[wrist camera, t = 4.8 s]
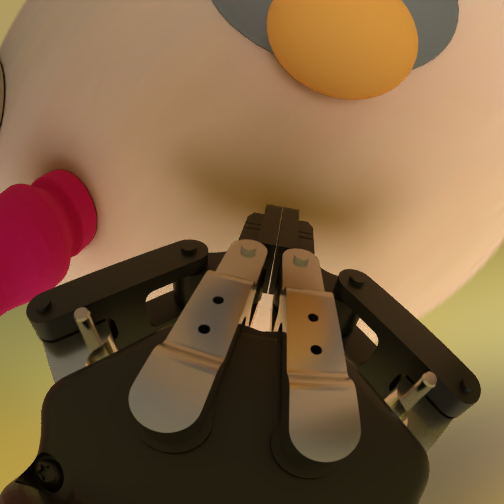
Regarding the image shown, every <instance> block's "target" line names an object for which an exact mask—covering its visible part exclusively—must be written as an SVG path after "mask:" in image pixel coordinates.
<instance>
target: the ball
mask: <svg viewBox="0 0 504 504" xmlns="http://www.w3.org/2000/svg"><path fill="white" fill-rule="evenodd" d="M267 34H268V39H269V43H270V45H271V48H272V50H273V52H274V54H275V56H276V57H277V59H278V61H279V62H280V63H281V65H282V66H283V67H284V68H285V70H286V71H287V72H288V73H289V74H290V75H292V76H293V77H294V78H295V79H296V80H298V81H299V82H300V83H302V84H303V85H305V86H307V87H309V88H310V89H312V90H314V91H316V92H319V93H321V94H324V95H327V96H331V97H335V98H340V99H349V100H357V99H367V98H372V97H376V96H379V95H382V94H384V93H386V92H388V91H390V90H392V89H394V88H395V87H396V86H398V85H399V84H400V83H401V82H402V81H403V80H404V79H405V78H406V77H407V76H408V74H409V73H410V71H411V70H412V68H413V65H414V63H415V61H416V58H417V53H418V34H417V29H416V26H415V22H414V20H413V18H412V16H411V14H410V12H409V10H408V8H407V7H406V6H405V4H404V3H403V1H402V0H273V1H272V3H271V5H270V7H269V11H268V16H267Z"/></svg>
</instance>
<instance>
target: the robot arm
mask: <svg viewBox="0 0 504 504" xmlns="http://www.w3.org/2000/svg"><path fill="white" fill-rule="evenodd" d="M3 98H4V81H3V72H2V68H1V65H0V122H1V117H2V109H3ZM281 212H282V207H279V206H273V205H268V204H267V207H266V210H265V214H261V213H255V212H254V213H253V214H251V215H249V216H248V218H247V220H246V223H245V225H244V228H243V230H242V233H241V235H240V238H239V240H238V241H235V242H233V243H232V244H231V245H230V247H229V249H228V250H227V251H226V252H218V253H208V247H207V246H206V245H205V244H204V243H202V242H200V241H197V240H182V241H178V242H176V243H173V244H170V245H167V246H164V247H161V248H158V249H155V250H153V251H150V252H147V253H144V254H141V255H139V256H136V257H133V258H130V259H128V260H125V261H122V262H119V263H117V264H114V265H111V266H109V267H106V268H103V269H101V270H98V271H95V272H93V273H90V274H88V275H85V276H82V277H80V278H77V279H75V280H72V281H70V282H67V283H64V284H62V285H59V286H57V287H54V288H52V289H49V290H47V291H45V292H42V293H40V294H38V295H36V296H35V297H34V298H33V299H32V300H31V301H30V302H29V304H28V306H27V310H26V313H27V317H28V318H29V321H30V322H31V324H32V326H33V327H34V329H35V331H36V334H37V336H38V338H39V340H40V341H41V343H42V344H43V346H44V348H45V352H46V356H47V359H48V363H49V366H50V370H51V372H52V376H53V379H54V382H55V384H54V385H53V386H52V387H51V388H50V390H49V391H48V393H47V394H46V397H45V399H44V402H43V405H42V410H41V439H40V445H39V450H38V454H37V457H36V459H35V460H34V462H33V463H32V464H31V465H30V467H29V468H28V469H27V470H26V471H25V472H24V473H22V474H21V475H20V476H19V477H18V478H16V479H15V480H14V481H12V482H11V483H10V484H9V485H7V486H6V487H5V488H4V490H3V491H2V493H1V495H0V504H418V503H419V501H420V498H421V496H422V494H423V492H424V490H425V487H426V485H427V481H428V478H429V460H428V456H427V454H426V453H427V452H428V451H429V449H430V448H431V447H432V446H433V444H434V443H435V442H436V441H437V439H438V438H439V437H440V436H441V434H442V433H443V432H444V430H445V429H446V428H447V426H448V425H449V424H450V422H452V421H453V420H454V419H456V418H457V417H458V416H460V415H461V414H462V413H463V412H465V411H466V410H467V409H468V408H470V407H471V406H472V405H473V404H474V403H476V402H477V401H478V399H479V397H480V393H481V388H480V384H479V381H478V379H477V378H476V376H475V375H474V374H473V373H472V372H471V371H470V370H469V369H468V368H467V367H466V366H465V365H464V364H463V363H462V362H461V361H460V360H459V359H458V358H457V357H456V356H455V355H454V354H453V353H452V352H451V351H450V350H449V349H448V348H447V347H446V346H445V345H444V344H443V343H442V342H441V341H440V340H439V339H438V338H437V337H436V336H435V335H434V334H433V333H431V332H430V331H429V330H428V329H427V328H426V327H425V326H424V325H423V324H422V323H421V322H420V321H419V320H418V319H416V318H415V317H414V316H413V315H412V314H411V313H410V312H409V311H408V310H406V309H405V308H404V307H403V306H402V305H401V304H400V303H399V302H398V301H396V300H395V299H394V298H393V297H392V296H391V295H390V294H388V293H387V292H386V291H385V290H384V289H383V288H381V287H380V286H379V285H378V284H377V283H376V282H374V281H373V280H372V279H371V278H370V277H369V276H367V275H366V274H364V273H363V272H360V271H358V270H353V269H346V270H343V271H341V272H340V273H339V276H336V275H334V274H331V273H329V272H327V271H325V270H323V269H322V268H321V267H320V263H319V260H318V258H317V257H316V256H315V255H314V240H313V228H312V226H311V225H310V224H309V223H308V222H305V221H300V220H299V210H296V209H290V208H285V207H284V208H283V213H282V219H281ZM280 219H281V224H280ZM279 225H280V230H279ZM278 231H279V235H278ZM277 237H278V241H277ZM276 244H277V246H276ZM275 249H276V252H275ZM274 254H275V258H274ZM273 260H274V264H273ZM272 265H273V270H272ZM271 270H272V276H271V282H270V288H269V294H273V295H274V296H273V301H272V306H271V314H270V332H262V331H258V330H256V329H253V328H251V326H252V323H253V320H254V317H255V314H256V311H257V308H258V303H259V301H260V299H261V296H262V293H267V291H268V285H269V280H270V275H271ZM171 283H173V289H174V290H173V291H170V292H168V293H166V294H164V295H161V296H159V297H157V298H154V299H152V300H150V301H147V302H146V298H147V296H148V295H149V294H150V293H151V292H152V291H154V290H157V289H159V288H161V287H164V286H166V285H168V284H171ZM359 318H361V319H362V320H363V321H364V322H365V323H366V324H367V325H368V326H369V327H370V328H371V329H372V330H373V331H374V332H375V333H376V335H377V337H378V346H376V345H375V344H374V343H373V342H372V341H371V340H370V339H369V338H368V337H367V336H366V335H365V334H364V333H363V332H362V331H361V330H360V329H359V328H358V327H357V326H356V324H357V322H358V320H359Z"/></svg>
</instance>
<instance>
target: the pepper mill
mask: <svg viewBox="0 0 504 504" xmlns="http://www.w3.org/2000/svg"><path fill="white" fill-rule="evenodd" d="M96 224H97V217H96V211H95V207H94V204H93V200H92V198H91V197H90V195H89V193H88V191H87V189H86V187H85V186H84V185H83V183H82V182H81V181H80V180H79V179H78V178H77V177H76V176H74V175H73V174H72V173H70V172H67V171H65V170H54V171H51V172H49V173H47V174H45V175H43V176H42V177H40V178H38V179H36V180H35V181H34V182H33V183H32V185H27V184H15V185H12V186H10V187H9V188H7V189H6V190H5V191H3V192H2V193H1V194H0V316H1V315H3V314H4V313H6V312H7V311H9V310H11V309H13V308H15V307H17V306H20V305H23V304H25V303H27V302H30V301H31V300H32V299H33V298H34V297H35V296H36V295H38V294H40V293H42V292H45V291H47V290H49V289H52V288H54V287H55V286H56V285H57V284H58V283H60V282H61V281H62V280H63V278H64V277H65V276H66V274H67V271H68V269H69V265H70V260H71V257H73V256H75V255H77V254H78V253H79V252H80V251H81V250H83V249H84V248H85V247H86V246H87V245H88V244H89V243H90V242H91V241H92V239H93V238H94V235H95V233H96Z"/></svg>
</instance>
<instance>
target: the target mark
mask: <svg viewBox="0 0 504 504" xmlns="http://www.w3.org/2000/svg"><path fill="white" fill-rule="evenodd" d="M272 1H273V0H212V2H213V3H214V5H215V6H216V8H217V9H218V11H219V12H220V13H221V14H222V16H223V17H224V18H225V19H226V20H227V21H228V22H229V23H230V24H231V25H232V26H233V27H234V28H236V29H237V30H238V31H239V32H240V33H241V34H243V35H244V36H245V37H247V38H248V39H250V40H251V41H253V42H254V43H256V44H257V45H259V46H261V47H263V48H264V49H266V50H268V51H270V52H272V53H273V54H274V52H273V50H272V48H271V45H270V43H269V39H268V34H267V16H268V11H269V7H270V5H271V3H272ZM402 1H403V3H404V4H405V6H406V7H407V8H408V10H409V12H410V14H411V16H412V18H413V20H414V22H415V26H416V29H417V34H418V53H417V58H416V61H415V63H414V65H413V68H412V69H415V68H417V67H420V66H422V65H424V64H426V63H428V62H429V61H431V60H433V59H434V58H435V57H437V56H438V55H439V54H440V53H441V52H442V51H443V50H444V49H445V48H446V46H447V45H448V44H449V42H450V41H451V39H452V37H453V35H454V33H455V30H456V26H457V22H458V13H459V7H458V0H402Z"/></svg>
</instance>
